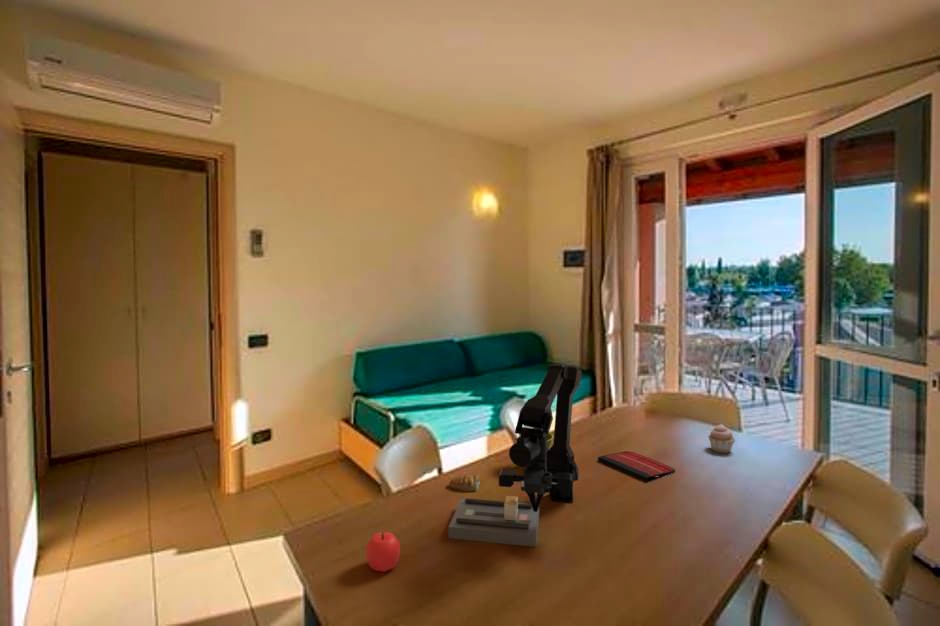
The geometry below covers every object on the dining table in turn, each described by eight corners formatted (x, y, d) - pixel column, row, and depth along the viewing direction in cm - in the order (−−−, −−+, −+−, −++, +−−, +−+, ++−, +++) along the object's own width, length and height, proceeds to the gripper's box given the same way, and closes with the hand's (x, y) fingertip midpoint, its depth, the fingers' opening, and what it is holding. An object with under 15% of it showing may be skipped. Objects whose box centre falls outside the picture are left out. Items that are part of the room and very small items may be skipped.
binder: (646, 477, 154) (597, 456, 172) (646, 484, 155) (597, 462, 172) (678, 468, 163) (628, 449, 181) (678, 474, 163) (627, 455, 181)
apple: (384, 581, 107) (383, 546, 106) (358, 569, 111) (357, 535, 110) (408, 562, 113) (407, 529, 113) (382, 552, 117) (381, 520, 117)
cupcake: (736, 448, 183) (737, 422, 182) (734, 456, 175) (735, 429, 175) (708, 444, 188) (709, 418, 187) (705, 451, 180) (706, 425, 180)
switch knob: (517, 511, 130) (517, 495, 130) (515, 520, 125) (515, 504, 125) (506, 510, 131) (506, 494, 130) (504, 519, 126) (504, 503, 125)
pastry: (448, 491, 150) (448, 479, 150) (451, 482, 157) (451, 470, 157) (478, 492, 149) (478, 480, 149) (480, 483, 156) (480, 471, 156)
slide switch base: (539, 514, 135) (539, 500, 134) (535, 546, 119) (535, 530, 119) (461, 508, 139) (461, 493, 139) (448, 538, 123) (448, 522, 123)
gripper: (495, 462, 119) (495, 523, 121) (573, 467, 116) (572, 530, 117) (501, 446, 130) (501, 502, 131) (572, 450, 126) (572, 508, 128)
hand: (535, 511), depth 127 cm, fingers closed
